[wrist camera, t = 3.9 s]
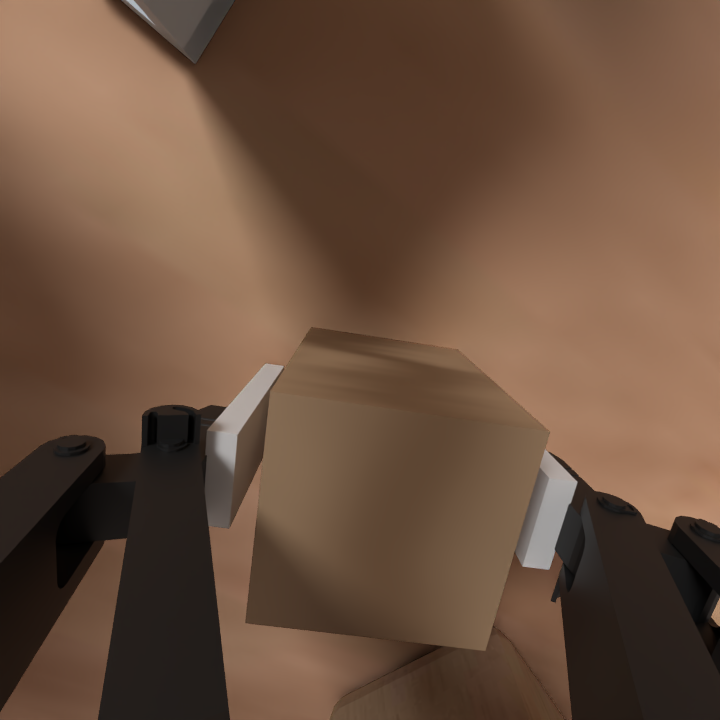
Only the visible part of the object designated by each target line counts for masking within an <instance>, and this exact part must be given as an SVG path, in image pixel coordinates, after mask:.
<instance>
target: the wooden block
mask: <svg viewBox="0 0 720 720" xmlns="http://www.w3.org/2000/svg"><path fill="white" fill-rule="evenodd" d="M330 720H565V719H564V718H563V717H562V715H561V714H560V712H559V711H558V709H557V708H556V706H555V705H554V704H553V702H552V701H551V699H550V698H549V696H548V695H547V694H546V692H545V691H544V689H543V688H542V686H541V685H540V684H539V682H538V681H537V679H536V678H535V676H534V675H533V673H532V672H531V671H530V669H529V668H528V666H527V665H526V663H525V662H524V661H523V659H522V658H521V656H520V655H519V653H518V652H517V651H516V649H515V648H514V646H513V645H512V643H511V642H510V641H509V640H508V639H507V638H506V637H505V636H504V635H503V634H502V633H501V632H500V631H499V630H497V629H496V628H494V627H492V630H491V634H490V637H489V641H488V644H487V647H486V651H482V650H473V649H465V648H456V647H447V646H443V647H441V648H439V649H437V650H435V651H433V652H431V653H429V654H427V655H425V656H423V657H421V658H419V659H417V660H415V661H413V662H411V663H409V664H407V665H405V666H403V667H401V668H399V669H397V670H395V671H393V672H391V673H389V674H387V675H385V676H383V677H381V678H379V679H377V680H375V681H373V682H371V683H369V684H367V685H365V686H363V687H361V688H360V689H358V690H356V691H354V692H352V693H350V694H348V695H346V696H344V697H342V698H341V699H340V701H339V702H338V703H337V704H336V705H335V706H334V709H333V712H332V715H331V718H330Z"/></svg>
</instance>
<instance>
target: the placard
mask: <svg viewBox="0 0 720 720" xmlns="http://www.w3.org/2000/svg"><path fill="white" fill-rule="evenodd" d="M121 1H122V2H124V3H125V4H126V5H127V6H128V7H129V8H131V9H132V10H133V11H134V12H135V13H136V14H137V15H139V16H140V17H141V18H142V19H143V20H144V21H146V22H147V23H148V24H149V25H150V26H151V27H153V28H154V29H155V30H156V31H157V32H158V33H160V34H161V35H162V36H163V37H164V38H165V39H167V40H168V41H169V42H170V43H171V44H172V45H173V46H175V47H176V48H177V49H178V50H179V51H180V52H182V53H183V54H184V55H185V56H186V57H187V58H189V59H190V60H191V61H192V62H193V63H194V64H196V62H197V61H198V59H199V58H200V56H201V54H202V53H203V51H204V49H205V48H206V46H207V45H208V43H209V41H210V40H211V38H212V37H213V35H214V33H215V32H216V30H217V28H218V27H219V25H220V24H221V22H222V20H223V19H224V17H225V15H226V14H227V12H228V11H229V9H230V7H231V6H232V4H233V3H234V1H235V0H121Z"/></svg>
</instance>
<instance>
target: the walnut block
mask: <svg viewBox="0 0 720 720" xmlns="http://www.w3.org/2000/svg"><path fill="white" fill-rule="evenodd" d="M549 434H550V431H549V430H548V429H547V428H545V427H544V426H543V425H542V424H541V423H540V422H539V421H538V420H536V419H535V418H534V417H533V416H532V415H531V414H530V413H529V412H527V411H526V410H525V409H524V408H523V407H522V406H521V405H520V404H518V403H517V402H516V401H515V400H514V399H513V398H512V397H511V396H509V395H508V394H507V393H506V392H505V391H504V390H503V389H502V388H500V387H499V386H498V385H497V384H496V383H495V382H494V381H493V380H491V379H490V378H489V377H488V376H487V375H486V374H485V373H484V372H482V371H481V370H480V369H479V368H478V367H477V366H476V365H475V364H473V363H472V362H471V361H470V360H469V359H468V358H467V357H466V356H464V355H463V354H462V353H461V352H460V351H459V350H457V349H451V348H444V347H438V346H431V345H425V344H418V343H412V342H405V341H398V340H392V339H385V338H379V337H372V336H366V335H359V334H353V333H346V332H339V331H333V330H326V329H320V328H313V327H311V329H310V330H309V332H308V334H307V335H306V337H305V338H304V340H303V341H302V343H301V344H300V346H299V347H298V349H297V351H296V352H295V354H294V355H293V357H292V358H291V360H290V361H289V363H288V365H287V366H286V368H285V369H284V371H283V372H282V374H281V375H280V377H279V378H278V380H277V382H276V383H275V385H274V386H273V388H272V389H271V391H270V397H269V406H268V416H267V425H266V435H265V444H264V453H263V463H262V472H261V481H260V491H259V500H258V509H257V519H256V528H255V538H254V547H253V556H252V566H251V575H250V584H249V594H248V603H247V612H246V622H245V623H249V624H257V625H266V626H274V627H283V628H292V629H300V630H309V631H318V632H326V633H335V634H344V635H352V636H361V637H370V638H378V639H387V640H395V641H404V642H413V643H421V644H430V645H439V646H447V647H456V648H465V649H473V650H482V651H486V647H487V644H488V641H489V637H490V634H491V630H492V627H493V624H494V620H495V617H496V613H497V610H498V607H499V603H500V600H501V597H502V593H503V590H504V586H505V583H506V580H507V576H508V573H509V569H510V566H511V563H512V559H513V556H514V552H515V549H516V546H517V542H518V539H519V536H520V532H521V529H522V525H523V522H524V519H525V515H526V512H527V508H528V505H529V502H530V498H531V495H532V492H533V488H534V485H535V481H536V478H537V475H538V471H539V468H540V464H541V461H542V458H543V454H544V451H545V448H546V444H547V441H548V437H549Z"/></svg>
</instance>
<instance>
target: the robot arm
mask: <svg viewBox="0 0 720 720" xmlns="http://www.w3.org/2000/svg"><path fill="white" fill-rule="evenodd" d="M283 371H284V366H280V365H273V364H267V363H266V364H265V365H264V366H263V367H262V368H261V369H260V370H259V371H258V373H257V374H256V375H255V376H254V377H253V378H252V379H251V381H250V382H249V383H248V384H247V385H246V386H245V387H244V389H243V390H242V391H241V392H240V393H239V394H238V395H237V397H236V398H235V399H234V400H233V401H232V402H231V403H230V405H229V406H228V407H221V406H214V405H210V406H207V407H205V408H202V409H200V410H196V409H194V408H192V407H188V406H183V405H165V406H159V407H154V408H151V409H149V410H147V411H145V413H144V414H143V415H142V447H141V453H135V454H114V455H106V445H105V443H104V441H103V440H101V439H99V438H97V437H92V436H78V435H69V436H63V437H60V438H58V439H55V440H52V441H48V442H47V443H45V444H43V445H41V446H39V447H38V448H37V449H36V450H34V451H33V452H32V453H31V454H30V455H28V456H27V457H26V458H25V459H23V460H22V461H21V462H20V463H18V464H17V465H16V466H15V467H13V468H12V469H11V470H10V471H8V472H7V473H6V474H5V475H3V476H2V477H1V478H0V711H1V710H2V708H3V707H4V705H5V703H6V702H7V700H8V698H9V697H10V695H11V694H12V692H13V690H14V689H15V687H16V685H17V684H18V682H19V681H20V679H21V677H22V676H23V674H24V672H25V671H26V669H27V668H28V666H29V664H30V663H31V661H32V659H33V658H34V656H35V655H36V653H37V651H38V650H39V648H40V646H41V645H42V643H43V642H44V640H45V638H46V637H47V635H48V634H49V632H50V630H51V629H52V627H53V625H54V624H55V622H56V621H57V619H58V617H59V616H60V614H61V612H62V611H63V609H64V608H65V606H66V604H67V603H68V601H69V599H70V598H71V596H72V595H73V593H74V591H75V590H76V588H77V586H78V585H79V583H80V582H81V580H82V578H83V577H84V575H85V573H86V572H87V570H88V569H89V567H90V565H91V564H92V562H93V560H94V559H95V557H96V556H97V554H98V552H99V551H100V549H101V548H102V546H103V544H104V541H105V540H112V539H122V538H127V541H126V547H125V553H124V560H123V566H122V572H121V579H120V585H119V591H118V597H117V604H116V610H115V616H114V622H113V629H112V635H111V641H110V648H109V654H108V660H107V666H106V673H105V679H104V685H103V692H102V698H101V704H100V710H99V717H98V720H230V715H229V708H228V699H227V690H226V681H225V672H224V663H223V653H222V644H221V635H220V626H219V617H218V608H217V599H216V590H215V581H214V572H213V563H212V553H211V544H210V535H209V526H213V527H221V528H228V529H229V528H230V526H231V524H232V522H233V520H234V517H235V515H236V513H237V511H238V509H239V507H240V505H241V503H242V501H243V498H244V496H245V494H246V492H247V490H248V488H249V486H250V484H251V482H252V479H253V477H254V475H255V473H256V471H257V469H258V467H259V465H260V463H261V460H262V458H263V453H264V444H265V435H266V425H267V416H268V406H269V397H270V391H271V389H272V388H273V386H274V385H275V383H276V382H277V380H278V378H279V377H280V375H281V374H282V372H283ZM555 551H556V552H557V553H558V555H559V556H560V558H561V559H562V561H563V565H562V568H561V571H560V574H559V577H558V580H557V583H556V586H555V589H554V592H553V595H552V599H551V601H552V602H556V599H557V598H558V597H561V607H562V618H563V628H564V638H565V649H566V659H567V670H568V680H569V690H570V701H571V711H572V720H720V627H719V626H718V625H717V624H716V623H715V621H714V620H713V619H712V618H711V616H712V613H713V611H714V609H715V607H716V605H717V602H718V600H719V598H720V528H718V527H717V526H716V525H714V524H712V523H710V522H709V523H708V522H707V521H705V520H702V519H695V518H692V517H686V516H679V517H676V518H675V520H674V523H673V525H672V528H671V530H666V529H663V528H660V527H656V526H653V525H650V524H646V523H645V521H644V519H643V517H642V515H641V513H640V512H639V511H638V510H637V509H636V508H635V507H634V506H633V505H631V504H629V503H628V502H626V501H624V500H622V499H620V498H618V497H616V496H614V495H610V494H607V493H602V492H596V491H594V490H593V489H592V488H591V487H590V486H589V485H588V484H587V483H586V482H585V481H584V480H583V479H582V478H581V477H579V475H578V474H577V473H576V472H575V471H574V470H572V469H571V468H570V467H569V466H568V465H567V464H566V463H565V462H564V461H563V460H562V459H560V458H559V457H557V456H555V455H554V454H552V453H550V452H547V451H546V450H545V451H544V454H543V458H542V461H541V464H540V468H539V471H538V475H537V478H536V481H535V485H534V488H533V492H532V495H531V498H530V502H529V505H528V508H527V512H526V515H525V519H524V522H523V525H522V529H521V532H520V536H519V539H518V542H517V546H516V549H515V553H516V555H517V557H518V559H519V561H520V563H521V565H522V566H523V567H531V568H539V569H546V570H549V569H550V566H551V563H552V560H553V557H554V554H555Z"/></svg>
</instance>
